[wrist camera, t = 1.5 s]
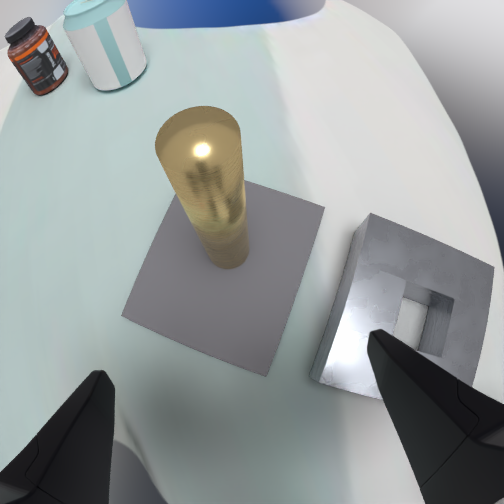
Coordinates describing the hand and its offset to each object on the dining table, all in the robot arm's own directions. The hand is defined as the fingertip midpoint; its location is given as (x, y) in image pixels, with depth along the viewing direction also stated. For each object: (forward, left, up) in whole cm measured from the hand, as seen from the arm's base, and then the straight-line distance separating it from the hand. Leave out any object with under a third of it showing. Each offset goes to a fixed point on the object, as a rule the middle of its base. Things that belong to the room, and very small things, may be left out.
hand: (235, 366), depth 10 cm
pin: (+7, +4, -13) cm, 15 cm away
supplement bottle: (+21, +37, -14) cm, 45 cm away
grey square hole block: (+6, -11, -13) cm, 18 cm away
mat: (+6, +4, -13) cm, 15 cm away
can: (+23, +25, -14) cm, 37 cm away
